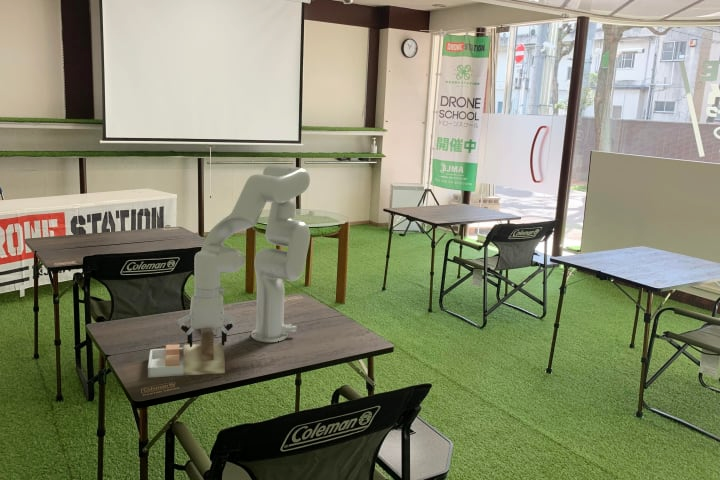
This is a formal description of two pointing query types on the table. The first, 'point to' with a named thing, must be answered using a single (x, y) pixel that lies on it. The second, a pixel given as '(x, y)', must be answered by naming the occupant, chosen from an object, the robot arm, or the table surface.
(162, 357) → the tray
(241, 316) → the table surface
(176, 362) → the tan wooden cube
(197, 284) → the robot arm
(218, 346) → the beige flat block
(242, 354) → the table surface
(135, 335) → the table surface
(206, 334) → the brown tapered block
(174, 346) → the pink cube
